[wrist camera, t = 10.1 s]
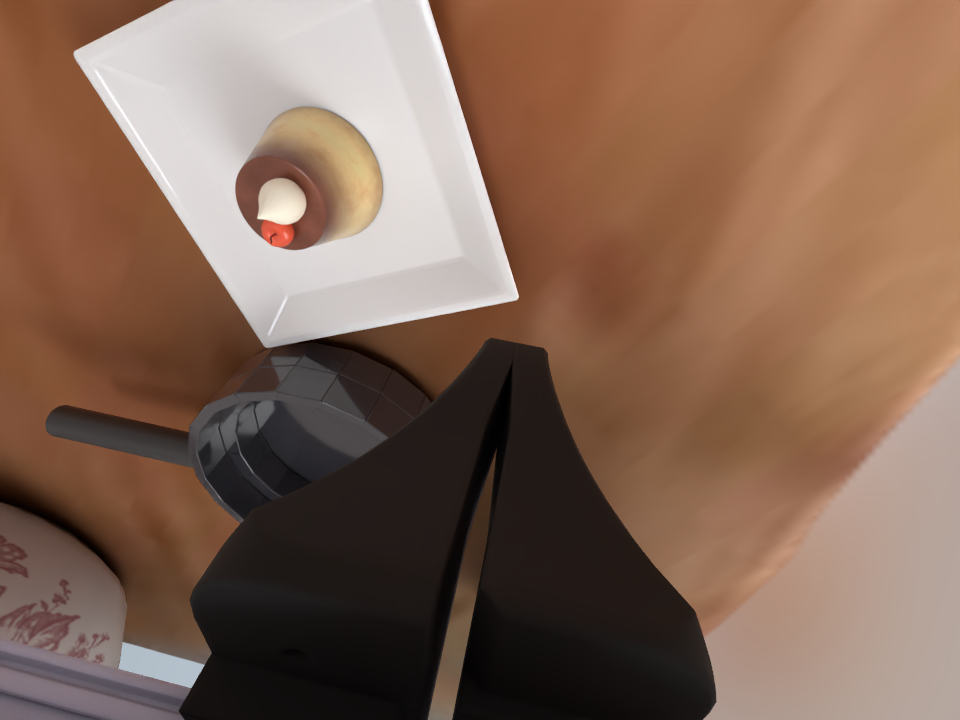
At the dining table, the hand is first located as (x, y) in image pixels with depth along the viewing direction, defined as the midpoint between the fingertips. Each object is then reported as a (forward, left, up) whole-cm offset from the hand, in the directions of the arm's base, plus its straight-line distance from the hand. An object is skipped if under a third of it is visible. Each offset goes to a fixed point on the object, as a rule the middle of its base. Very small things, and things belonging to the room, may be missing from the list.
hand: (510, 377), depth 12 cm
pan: (-13, +8, -9) cm, 17 cm away
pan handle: (-13, +18, -6) cm, 23 cm away
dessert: (+1, +8, -9) cm, 12 cm away
